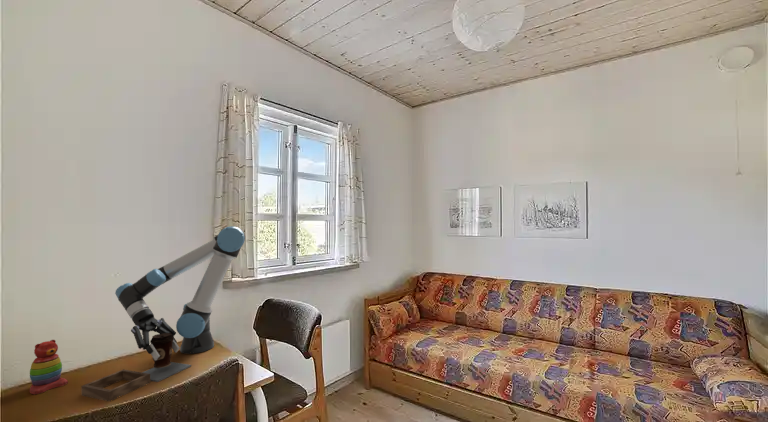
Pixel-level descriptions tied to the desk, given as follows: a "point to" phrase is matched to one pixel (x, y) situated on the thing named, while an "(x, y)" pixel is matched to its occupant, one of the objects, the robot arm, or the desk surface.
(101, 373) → the desk surface
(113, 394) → the square frame
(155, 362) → the coffee cup
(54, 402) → the desk surface
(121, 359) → the desk surface
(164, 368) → the mat
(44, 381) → the stacking bear
